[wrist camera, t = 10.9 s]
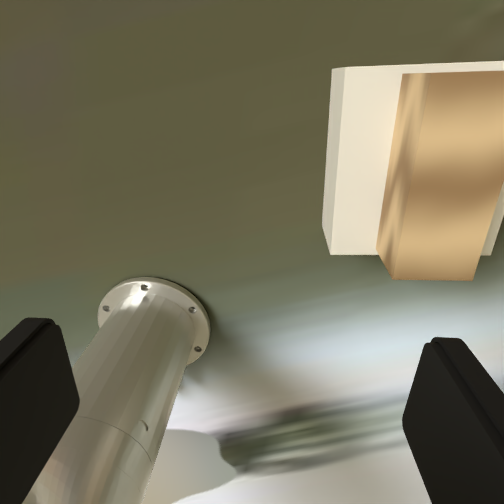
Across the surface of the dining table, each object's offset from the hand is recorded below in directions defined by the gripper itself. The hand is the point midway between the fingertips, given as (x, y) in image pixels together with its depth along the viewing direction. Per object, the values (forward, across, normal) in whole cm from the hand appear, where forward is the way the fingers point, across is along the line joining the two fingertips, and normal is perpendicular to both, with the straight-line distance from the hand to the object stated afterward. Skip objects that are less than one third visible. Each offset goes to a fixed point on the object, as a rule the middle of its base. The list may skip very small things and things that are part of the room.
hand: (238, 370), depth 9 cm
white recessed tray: (+23, -12, -2) cm, 26 cm away
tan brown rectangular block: (+21, -11, -2) cm, 24 cm away
